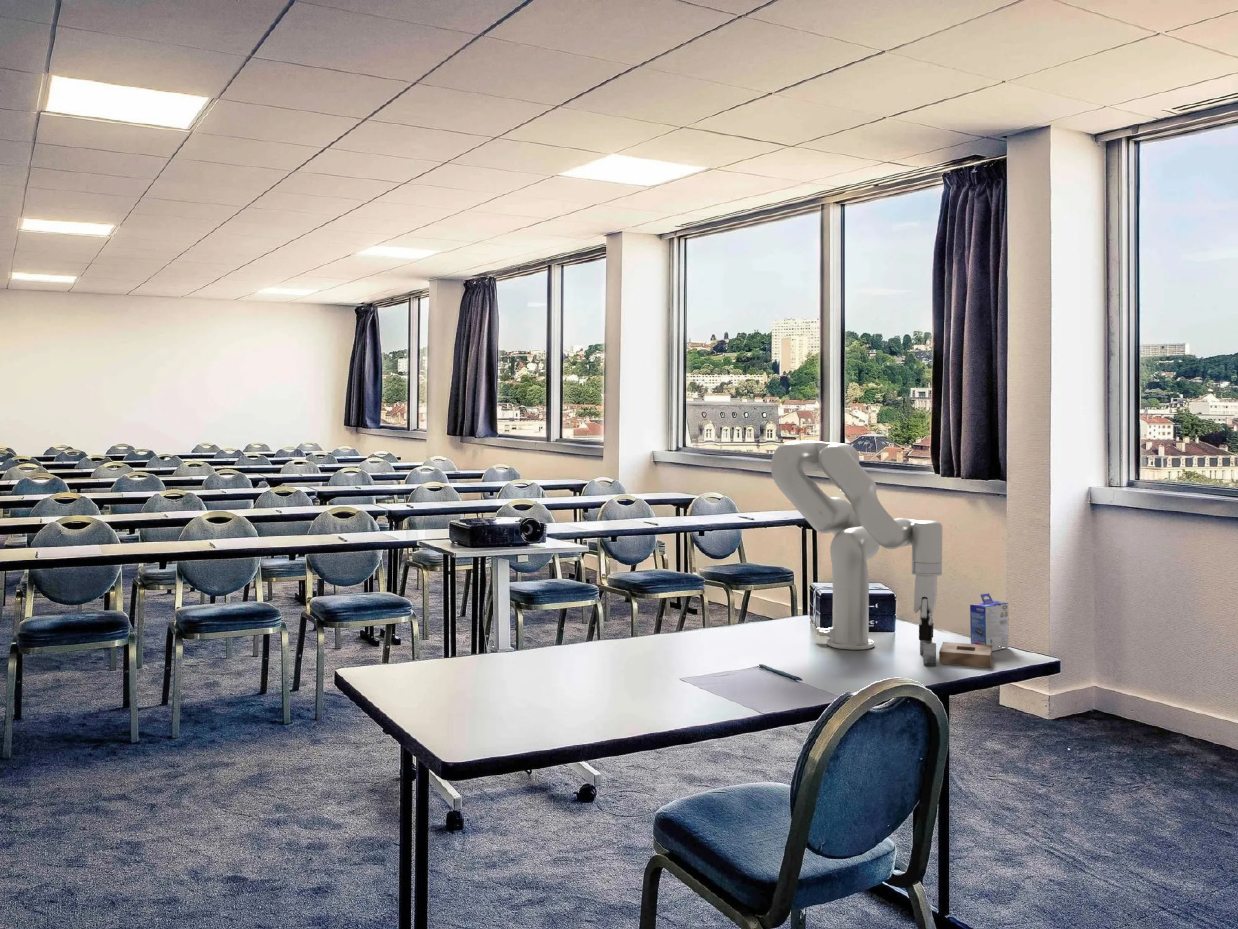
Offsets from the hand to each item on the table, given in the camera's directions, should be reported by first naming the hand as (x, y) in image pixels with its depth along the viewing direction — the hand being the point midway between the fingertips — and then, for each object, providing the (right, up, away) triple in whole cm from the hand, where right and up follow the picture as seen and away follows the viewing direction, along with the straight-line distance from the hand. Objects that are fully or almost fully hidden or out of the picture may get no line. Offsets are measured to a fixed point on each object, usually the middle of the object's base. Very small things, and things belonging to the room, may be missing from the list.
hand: (926, 638), depth 268 cm
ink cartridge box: (+19, -4, +7) cm, 20 cm away
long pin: (0, -4, 0) cm, 4 cm away
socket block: (+8, -5, -6) cm, 11 cm away
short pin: (-3, -5, -12) cm, 13 cm away
